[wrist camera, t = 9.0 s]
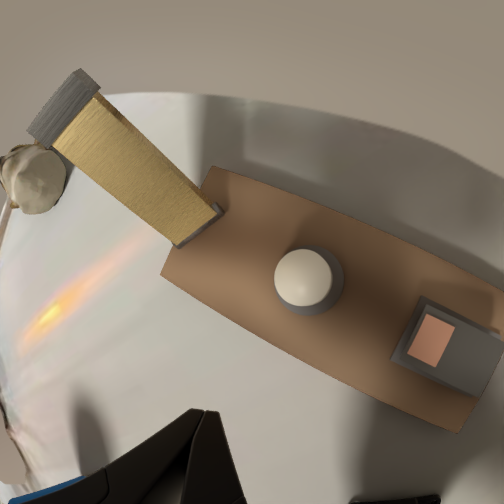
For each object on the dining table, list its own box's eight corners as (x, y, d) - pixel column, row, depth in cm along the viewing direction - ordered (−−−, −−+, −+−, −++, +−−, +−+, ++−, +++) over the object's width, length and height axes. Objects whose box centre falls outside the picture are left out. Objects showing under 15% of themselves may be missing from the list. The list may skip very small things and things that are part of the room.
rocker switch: (475, 393, 10) (479, 398, 9) (400, 356, 13) (399, 359, 12) (500, 342, 10) (507, 343, 9) (425, 305, 13) (426, 303, 12)
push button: (318, 314, 14) (314, 316, 13) (272, 291, 15) (265, 290, 14) (341, 266, 14) (339, 263, 13) (294, 245, 15) (289, 240, 14)
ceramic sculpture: (-14, 223, 20) (-22, 190, 26) (52, 243, 27) (23, 206, 34) (29, 119, 20) (8, 118, 26) (91, 153, 27) (52, 140, 34)
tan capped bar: (227, 220, 17) (72, 72, 9) (182, 255, 18) (26, 130, 10) (222, 205, 18) (80, 68, 10) (179, 238, 19) (36, 120, 11)
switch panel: (451, 424, 12) (460, 438, 10) (172, 276, 21) (153, 273, 19) (511, 302, 12) (527, 302, 10) (222, 174, 20) (207, 161, 18)
